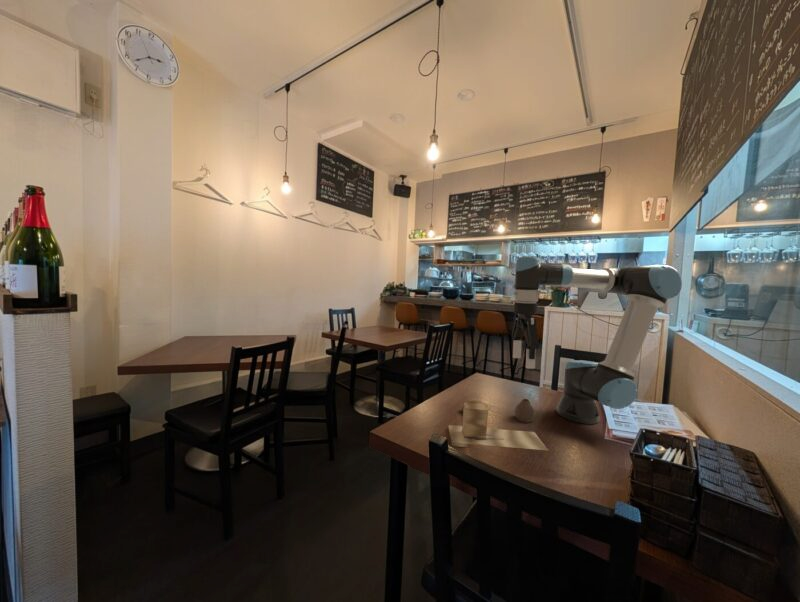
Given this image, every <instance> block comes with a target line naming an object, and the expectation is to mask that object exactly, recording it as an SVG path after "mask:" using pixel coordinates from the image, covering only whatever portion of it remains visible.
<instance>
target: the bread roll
mask: <svg viewBox="0 0 800 602" xmlns="http://www.w3.org/2000/svg"><path fill="white" fill-rule="evenodd" d="M466 403H477V404H485V403H484V402H483V401H481V400H477V399H476V400H474V399H473V400H469V401H468V402H466ZM461 409H462V410H461V413H462V414H463V412H464V405H463V406H462V407H461Z"/></svg>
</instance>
